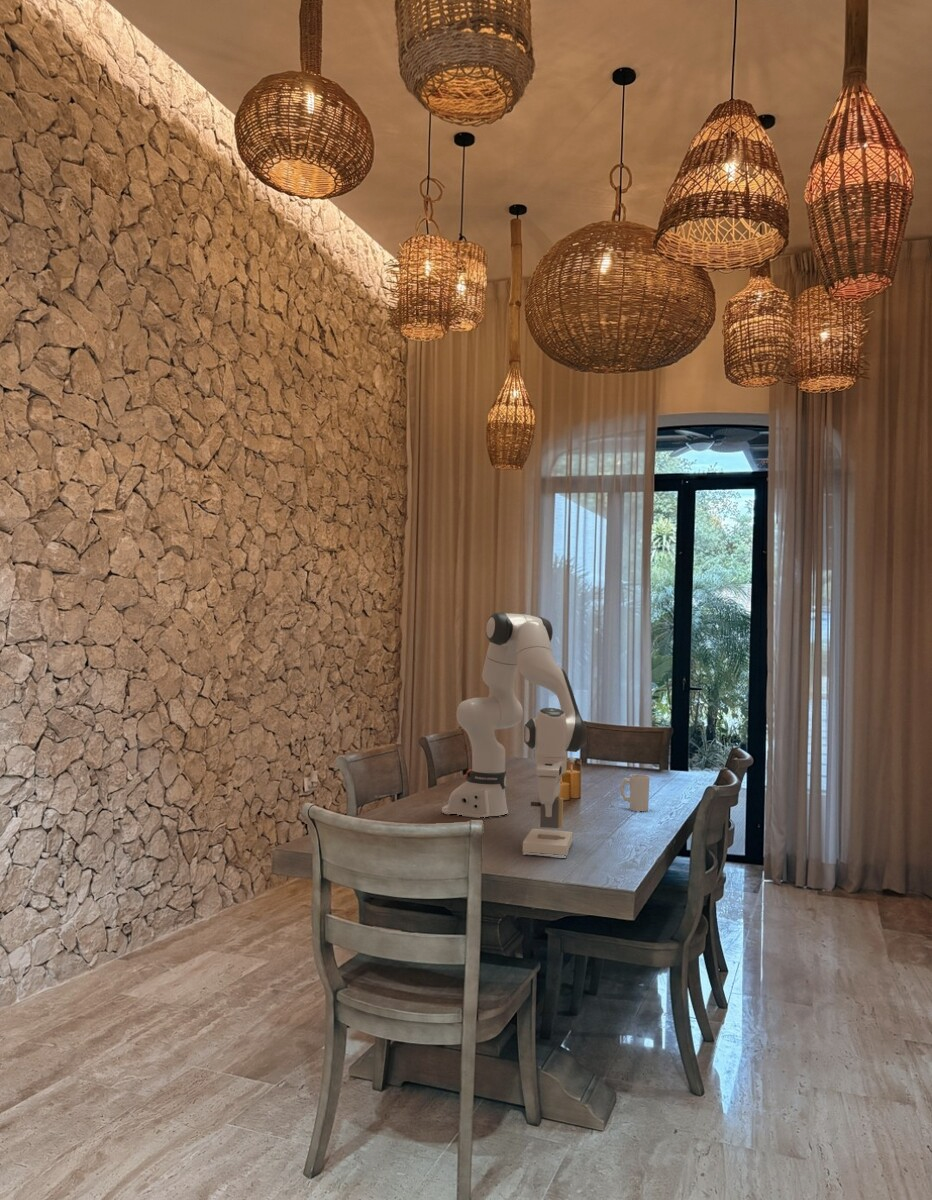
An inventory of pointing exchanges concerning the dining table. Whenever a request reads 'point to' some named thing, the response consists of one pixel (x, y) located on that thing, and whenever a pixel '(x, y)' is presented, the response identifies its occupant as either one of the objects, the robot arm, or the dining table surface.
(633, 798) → the mug
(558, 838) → the socket block
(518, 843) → the dining table surface
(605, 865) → the dining table surface
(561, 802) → the plug
